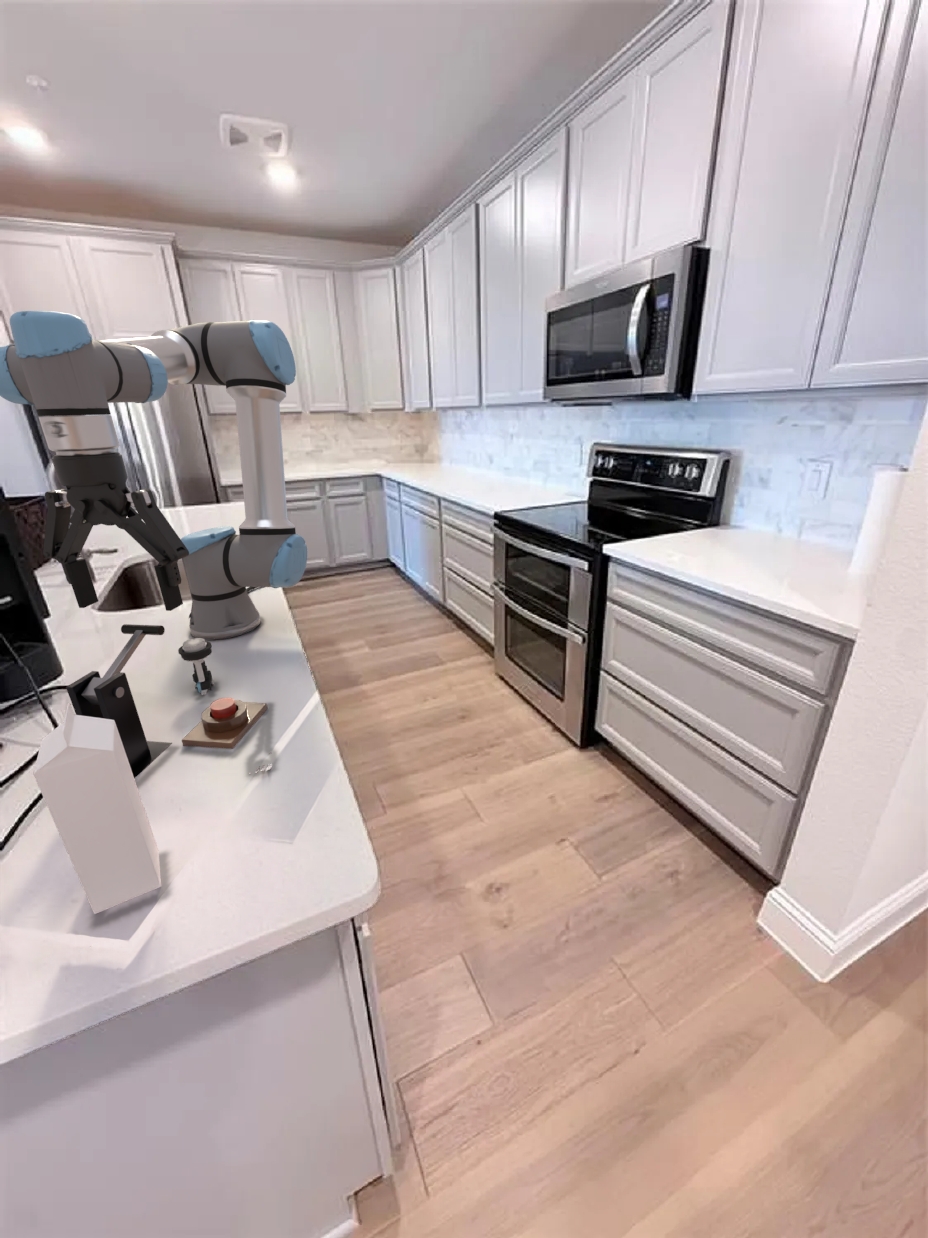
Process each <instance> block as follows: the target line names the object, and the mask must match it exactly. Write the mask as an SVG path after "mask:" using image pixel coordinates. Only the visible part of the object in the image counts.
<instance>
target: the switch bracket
mask: <svg viewBox="0 0 928 1238" xmlns="http://www.w3.org/2000/svg"><path fill="white" fill-rule="evenodd" d="M94 677H95V678H102V677H101V674H100V671H97V670H91V671H90V672H89V673H87V674H85V675H84V676H82V677H80V678H79V679H77V680H75V681H74V682H72V683H70V684H68V685H67V686H66V687H65V689H66V692H67V695H68V697H69V700H70V702H71V706H72V707H73V708H72V709H73V711H74V714H75V715H81V716H89V717H96V718H104V719H111V720H114V721H115V723H116V726H117V729H118V732H119V735H120V738H121V741H122V744H123V747H124V750H125V753H126V756H127V758H128V761H129V764H130V767H131V770H132V773H133V776H134V779H136V778H137V777H139V775H141V774H142V773H143V772H144V771H145V770H146V769H147V768H148V767H149V766H150V765H151V764H152V763H153V762H154V761H155V760H156V759H157V758H158V757H159V756H161V754H163V753H164V752H165V751H166V750H167V749H168V748H169V747H170V746H171V745H173V742H167V741H151V740H147V738H146V734H145V731H144V729H143V724H142V721H141V718H140V716H139V713H138V710H137V706H136V703H135V700H134V697H133V694H132V691H131V688H130V687H131V686H130V683H129V681H128V678H127V674H126V672H122V671H121V672H119V673H117V674H115V675H114V676H112V677H111V678H109V679H108V680H106V681H105V682H103V683H102V684H100V685H98V686H97V687H95V688H94V691H95V694H96V697H97V700H98V703H99V705H95V704H91V703H90V702H89V701H88V700H87V699H86V698H84V697H83V696H82V695H81V694H82V693H83V691H84V690H85V689H86V687H87V686H88V684H89V683H90V682H91V680H92V679H93V678H94Z"/></svg>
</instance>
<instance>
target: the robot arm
mask: <svg viewBox="0 0 928 1238" xmlns="http://www.w3.org/2000/svg"><path fill="white" fill-rule="evenodd" d="M9 326H10V330H11V335H12V339H13V344H8V345H5V346H0V397H1V398H2V399H4V400H5V401H8V402H10V403H13V404H18V405H30V406H34V407H35V410H36V413H37V416H38V420H39V423H40V427H41V430H42V432H43V435H44V438H45V442H46V445H47V449H48V450H49V451H51V452H55V454H56V455H53V456H52V458H51V462H52V464H53V468H54V471H55V474H56V478H57V480H58V483H59V484H60V485H61V486H63V487H65V488H60V489H54V490H48V491H45V492H44V498H45V502H46V506H47V513H46V521H45V530H44V541H43V548H42V555H43V557H45V559H48V560H50V559H53V560H56V561H57V563H59V564H61V567H62V570H63V573H64V576H65V579H66V581H67V583H68V584H69V585H71V587H72V590H73V593H74V596H75V599H76V603H77V605H78V608H79V609H85V608H87V607H89V606H91V605H94V604H97V603H98V602H99V598H98V594H97V592H96V590H95V585H94V583H93V579H92V576H91V573H90V570H89V566H88V564H87V560H86V558H82V557H83V555H82V554H81V553H82V551H83V548H84V546H85V544H86V542H87V540H88V537H89V536H90V533H91V532H92V529H93V527H94V526H99V525H104V526H108V527H109V526H116V527H117V528H118V529H120V530H124V531H125V532H126V533H127V534H128V535H129V536H130V537H131V538H132V539H133V540H135V542H136V543H138V545H140V546H141V547H142V548H143V549H144V550H145V551H146V552H147V553H148V554H149V555H150V556H151V557H152V558H153V559H154V560H155V561H157V564H156V565H154V570H155V573H156V578H157V581H158V586H159V589H160V593H161V596H162V600H163V604H164V608H165V611H167V612H171V611H173V610H175V609H177V608H178V607H180V606H182V605H183V604H184V602H183V597H182V593H181V590H180V586H179V585H181V584H182V576H181V573H180V568H179V565H178V562H179V560H181V561H182V565H183V569H184V573H185V577H186V581H187V585H188V589H189V593H190V597H191V608H190V613H189V615H188V619H189V626H188V627H189V630H190V631H189V632H190V634H191V636H193V637H194V638H203V639H204V640H205V641H209V640H213V641H214V640H224V639H225V640H226V639H230V638H234V637H238V636H242V635H244V634H247V633H250V632H251V631H254V630H255V629H256V628H257V627H258V626H259V625H260V624H261V616H260V613H259V610H258V609H257V607H256V606H255V604H254V601H253V600H252V599H251V597H250V595H249V592H250V591H252V590H255V589H257V588H271V589H279V588H291V587H294V586H296V585H298V583H299V582H300V581H301V580H302V579H303V577H304V576H303V575H304V574H305V572H306V568H307V564H308V563H307V562H308V546H307V544H306V540H305V538H304V537H303V536H302V535H301V534H298V533H296V532H297V531H296V526H295V524H294V523H292V522H291V521H290V519H289V518H288V507H287V492H286V478H285V477H286V475H285V466H284V465H285V464H284V463H285V462H284V450H283V437H282V435H283V434H282V421H281V420H282V419H281V409H280V404H281V403H282V402H283V401H284V399H285V398H287V386H290V385H292V384H293V383H294V382H295V380H296V376H297V370H296V361H295V357H294V352H293V350H292V347H291V344H290V343H289V341H288V338H287V336H286V335H285V333H284V331H283V330H282V328H281V327H280V326H278V325H277V324H276V323H275V322H273V321H270V320H256V319H250V320H238V321H237V320H236V321H235V320H234V321H215V322H212V321H209V322H208V321H207V322H206V321H205V322H199V323H192V324H188V325H185V326H181V327H175V328H169V329H162V330H161V329H160V330H157V331H154V332H153V333H152V334H151V335H150V336H146V337H133V338H132V337H130V338H117V339H116V338H115V339H114V338H113V339H102V340H101V339H100V340H99V339H94V338H93V336H92V334H91V333H90V331H89V328H88V324H87V323H86V321H85V320H84V319H83V318H82V317H80V316H78V315H75V314H72V313H67V312H60V311H49V310H24V311H23V310H21V311H15V312H14V313H13V314H12V315H10V317H9ZM168 384H170V385H172V386H173V385H174V386H184V385H203V386H204V385H205V386H217V387H219V386H220V387H221V386H222V387H225V390H226V393H227V394H228V395H229V396H230V397H231V398H233V400H234V402H235V413H236V414H235V415H236V424H237V425H236V426H237V435H238V446H239V458H240V470H241V481H242V492H243V493H242V494H243V504H244V515H245V518H244V520H243V521H242V523H241V524H239V526H238V532H239V534H236V533H237V531H236V530H235V528H234V527H233V526H230V525H229V526H227V525H225V526H218V527H212V528H211V527H210V528H207V529H201V530H198V531H194V532H191V533H188V534H186V535H184V536H183V537H179V535H178V533H177V532H176V531H175V529H174V528H173V527H172V525H171V524H170V522H169V521H168V519H167V518H166V517H165V515H164V514H163V512H162V511H161V510H160V508H159V507H158V506H157V503H156V501H155V497H154V494H153V492H152V490H150V489H149V488H144V489H140V490H139V489H138V490H135V491H132V492H131V491H130V490H129V488H128V487H127V480H128V477H129V476H128V472H127V469H126V465H125V461H124V458H123V454H120V452H119V451H118V452H117V451H116V449H118V448H119V447H120V446H121V445H120V442H119V439H118V435H117V432H116V428H115V424H114V420H113V417H112V415H111V410H110V406H109V404H112V403H114V404H115V403H134V404H146V403H152V402H156V401H158V400H160V399H161V398H163V396H164V395H165V394H166V391H167V389H168ZM72 508H73V512H72ZM134 508H135V509H134Z"/></svg>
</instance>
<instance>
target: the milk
mask: <svg viewBox="0 0 928 1238" xmlns="http://www.w3.org/2000/svg"><path fill="white" fill-rule="evenodd" d="M72 707H73V706H72V704H71V703H70V702H68V703H67V705H66V710H65V715H64V720H63V722H62V723H60V724H59V725H58V726H57V727H55V728H54V729H53V730H52V731H50V732H49V733H48V734H47V735H45V736H44V737H42V739H41V742H40V746H39V750H38V753H37V757H36V760H35V765H34V769H33V773H32V775H33V777H34V779H35V782H36V784H37V786H38V788H39V791H40V793H41V796H42V798H43V800H44V802H45V805H46V807H47V809H48V811H49V814H50V816H51V818H52V821H53V823H54V825H55V828H56V829H57V832H58V835H59V836H60V839H61V841H62V844H63V846H64V848H65V850H66V852H67V855H68V858H69V861H70V862H71V865H72V866H73V869H74V871H75V873H76V876H77V878H78V880H79V882H80V884H81V887H82V890H83V891H84V894H85V896H86V899H87V901H88V903H89V905H90V908H91V910H92V912H93V915H96V914H98V913H101V912H104V911H106V910H108V909H111V908H113V907H115V906H118V905H121V904H123V903H125V902H127V901H130V900H132V899H135V898H137V897H140V896H142V895H145V894H146V893H150V892H152V891H154V890H156V889H159V888H161V887H162V878H161V866H160V865H161V863H160V852H159V851H160V850H159V846H158V844H157V841H156V838H155V835H154V833H153V829H152V827H151V823H150V820H149V818H148V815H147V812H146V809H145V806H144V803H143V801H142V797H141V794H140V791H139V788H138V786H137V785H138V784H137V783H136V780H135V779H136V778H135V779H134V776H133V773H132V770H131V767H130V764H129V761H128V758H127V756H126V753H125V750H124V747H123V744H122V741H121V738H120V735H119V732H118V729H117V726H116V723H115V721H114V720H111V719H104V718H96V717H89V716H81V715H76V713H75V711H74V709H73V708H72Z"/></svg>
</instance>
